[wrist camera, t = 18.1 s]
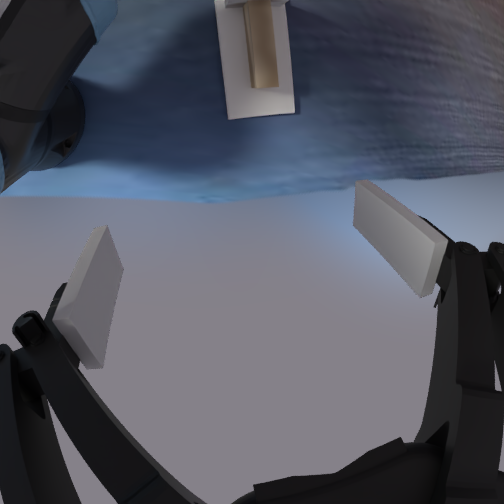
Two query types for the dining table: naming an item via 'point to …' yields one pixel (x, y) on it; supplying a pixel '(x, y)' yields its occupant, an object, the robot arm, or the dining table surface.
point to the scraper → (259, 40)
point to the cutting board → (237, 67)
